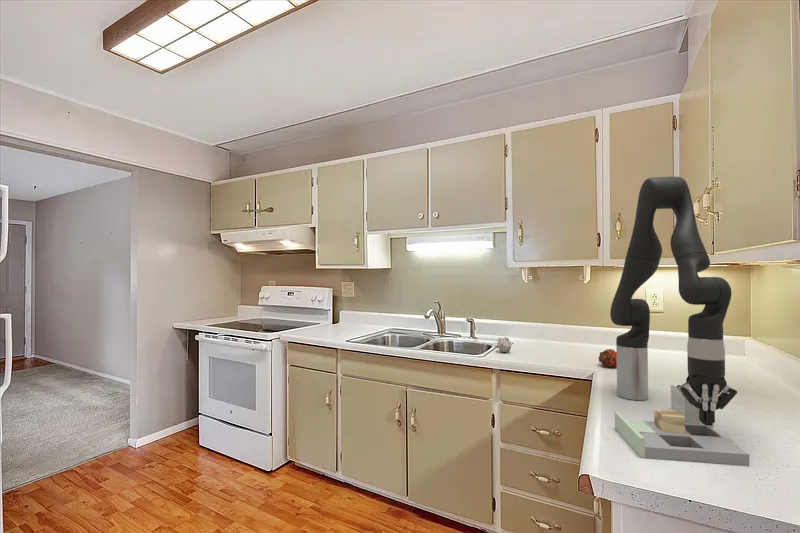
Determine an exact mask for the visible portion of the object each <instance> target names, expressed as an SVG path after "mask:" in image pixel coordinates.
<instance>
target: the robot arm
mask: <svg viewBox="0 0 800 533" xmlns="http://www.w3.org/2000/svg"><path fill="white" fill-rule="evenodd" d="M639 189H640V190H639V192H638V198H637V205H636V210H635V218H634V224H633V228H632V232H631V236H630V241H629V244H628V247H627V251H626V256H625V260H624V264H623V268H622V273H621V276H620V280H619V283H618V286H617V289H616V291H615V294H614V296H613V300H612V302H611V305H610V311H609V313H610V314H609V316H610V320H611V322H612V324H614V325H616V326H621V327H631V329H629V330H628V331H626V332H625V333H623V334H619V335H618V336H617V337H616V341H615V342H616V343H615V344H616V346H615V347H616V349H615V352H617V367H616V395H617V396H618V397H620V398H623V399H627V400H631V401H646V400H648V399H649V365H648V364H649V360H648V359H649V356H648V354H649V352H648V351H649V350H648V349H649V348H648V343H649V338H650V323H651V313H650V312H651V310H650V306H649V304H648V302H647V301H646V300H645V299H643V298H633V296H634V294H636V292H637V290H638V289H639V288H641V287H642V285H644V284H645V283H646V282H647V281H648V280H650V279H651V278H652V277H653V276H654V274H655V273H656V271H657V270H658V267H659V264H660V262H661V257H662V254H663V247H662V244H661V240H660V239H659V236H658V235H657V233H656V231H655V230H656V229H655V227H654V219H655V214H656V211H657V210H663V209H665V210H669V209H671V210H672V211H673V214H674V216H675V220H676V222H675V225H674V228H673V230H672V234H671V236H670V249H671V253H672V256H673V258H674V261H675V264H676V267H677V274H678V275H677V276H678V294H679V296H680V297H681V299H682V300H683V301H684V303H685V302H686V304H689V305H694V306H704V307H703V309H702V311H701V312H698V313H694V314H691V315H690V316H688V320H687V325H688V326H687V329H688V330H687V331H688V333H687V334H688V335H687V345H686V346H687V356H686V357H687V358H686V359H687V373H688V374H687V377H686V379H685V380H686V381H685V382H684V383H682V384H683V385H678V386H677V389H678V390H679V391H680V392H681V393H682V395H683V396H684V397H685V398H686V399H687V400H688V402H689V403H690V404H691V405H693V406H695V407H696V408H699V420H700V421H701V422H702V423H703V424H704V425H708V426H712V425H713V424H715V422H716V414H715V413H716V411H717V410H723V409H725V407H726V406H727V405H728V404H729V403H730V402H731V401H732V399H734V398H735V396H736V395H737V394H738V391H737V389H734V388H732V387H730V386H729V385H728V384H727V380H726V378H725V376H726V348H725V344H724V321H725V319H726V315H727V312H728V310H729V307H730V303H731V300H732V299H731V298H732V288H731V285H730V284H729V282H728V281H727V280H726V279H724V278H723V277H719V276H699V274H698V273H701V272H704V271H705V270H707V269H708V268H709V267H710V265H711V259H710V256H709V254H708V252H707V250H706V247H705V246H704V243H703V241H702V238H701V236H700V233H699V229H698V225H697V220H696V215H695V210H694V205H693V200H692V196H691V190H690V188H689V185H688V182H687V181H686V180H685V178H683V177H680V176H659V177H658V176H655V177H654V176H653V177H647V178H646V179H645V180H644V181H643V183H642V184H641V186H640V188H639ZM690 387H691V389H692V390H693V391H694V392H695V395H696V398H697V401H696V399H695V398H694V397H693V396H692V395H691V394H690V392H691V390H690ZM713 426H714V425H713Z"/></svg>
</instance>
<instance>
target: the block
mask: <svg viewBox="0 0 800 533" xmlns="http://www.w3.org/2000/svg"><path fill="white" fill-rule="evenodd" d="M653 413H654V414H653V420H654V424H655V425H656V426H657V427H658V428H659V429H660V430H661V431H663V432H673V433H685V417H684V416H683V415H681V414H680V413H678V412H677V411H676V410H671V409H661V408H659V409H658V408H654V409H653Z"/></svg>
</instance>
